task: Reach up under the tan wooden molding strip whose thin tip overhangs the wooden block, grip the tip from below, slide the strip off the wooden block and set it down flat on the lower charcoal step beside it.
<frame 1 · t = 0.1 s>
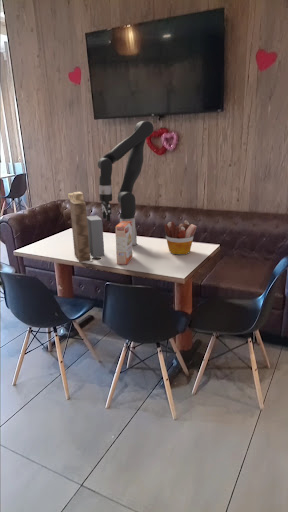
hand: (106, 219, 220), 17 cm above the table, tool pointing down, fingers open, 8 cm apart
tan wooden molding strip: (76, 200, 199), point 32 cm above the table, touching wooden block
bucket of meat: (179, 252, 210), on the table
cracker box: (125, 261, 199), on the table
step: (96, 254, 212), on the table
wooden block: (82, 257, 206), on the table
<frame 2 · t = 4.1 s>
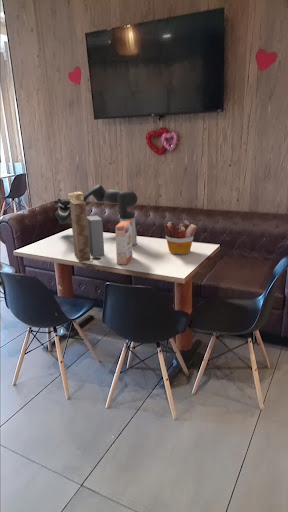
hand: (66, 198, 229), 29 cm above the table, tool pointing upward, fingers open, 8 cm apart
nothing on the table moved.
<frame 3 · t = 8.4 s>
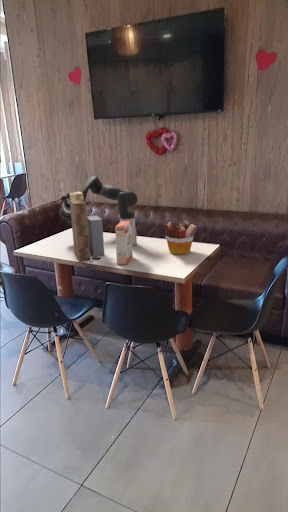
hand: (73, 194, 206), 35 cm above the table, tool pointing upward, fingers closed on tan wooden molding strip, 4 cm apart
tan wooden molding strip: (76, 200, 199), point 32 cm above the table, touching gripper, wooden block
everything else where it was.
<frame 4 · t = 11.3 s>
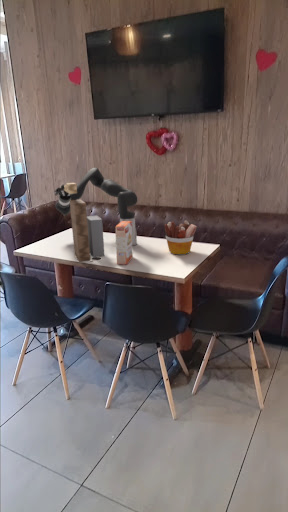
hand: (67, 185, 211), 39 cm above the table, tool pointing upward, fingers closed on tan wooden molding strip, 4 cm apart
tan wooden molding strip: (70, 191, 204), point 36 cm above the table, touching gripper
everything else where it was.
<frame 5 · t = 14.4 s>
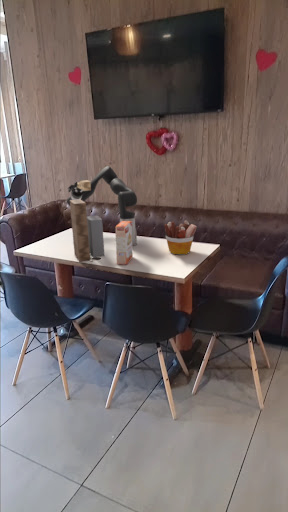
hand: (80, 183, 225), 39 cm above the table, tool pointing upward, fingers closed on tan wooden molding strip, 4 cm apart
tan wooden molding strip: (83, 188, 218), point 36 cm above the table, touching gripper
everything else where it was.
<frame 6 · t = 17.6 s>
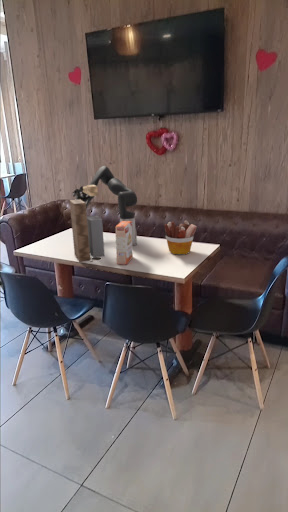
hand: (86, 187, 211), 38 cm above the table, tool pointing upward, fingers closed on tan wooden molding strip, 4 cm apart
tan wooden molding strip: (89, 193, 204), point 35 cm above the table, touching gripper
everything else where it was.
when the fingers open (26 cm above the table, at t = 20.5 s): tan wooden molding strip drops 2 cm, resting on step.
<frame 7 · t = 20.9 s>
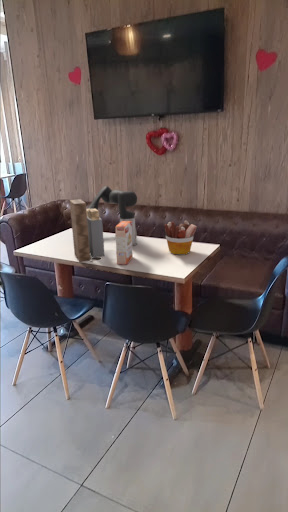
hand: (87, 207, 215), 25 cm above the table, tool pointing upward, fingers open, 8 cm apart
tan wooden molding strip: (91, 217, 208), point 21 cm above the table, touching step
everything else where it was.
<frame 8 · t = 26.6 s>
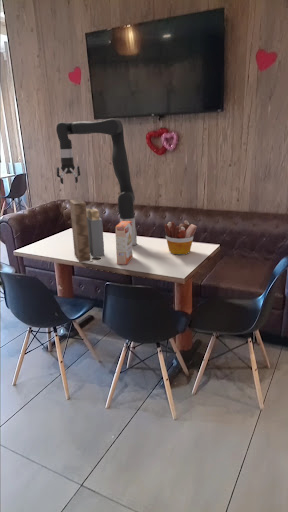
hand: (69, 183, 228), 38 cm above the table, tool pointing down, fingers open, 8 cm apart
nothing on the table moved.
at the end: tan wooden molding strip inside the target area (0.1 cm from its centre), point 21.5 cm above the table; tan wooden molding strip touching step; the gripper is holding nothing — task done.
